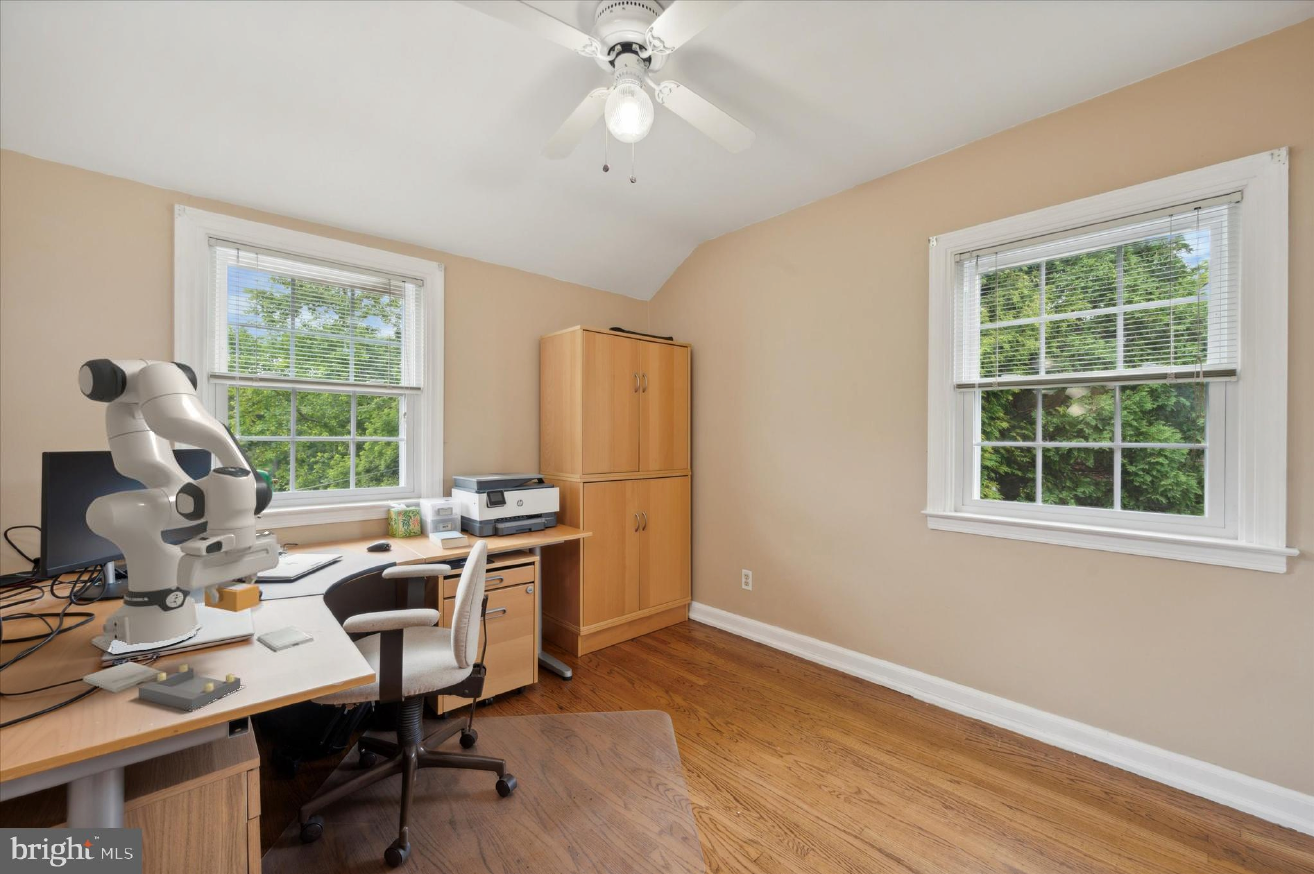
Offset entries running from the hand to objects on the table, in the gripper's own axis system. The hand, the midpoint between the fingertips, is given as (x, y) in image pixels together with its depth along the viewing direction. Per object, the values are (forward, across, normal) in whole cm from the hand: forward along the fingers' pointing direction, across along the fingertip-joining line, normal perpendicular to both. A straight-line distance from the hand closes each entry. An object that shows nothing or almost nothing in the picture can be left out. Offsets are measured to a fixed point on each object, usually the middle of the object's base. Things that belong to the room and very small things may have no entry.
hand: (231, 597), depth 123 cm
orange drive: (+2, 0, 0) cm, 2 cm away
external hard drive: (+17, +12, -15) cm, 26 cm away
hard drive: (+16, -14, -1) cm, 22 cm away
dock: (+15, +11, +6) cm, 20 cm away
